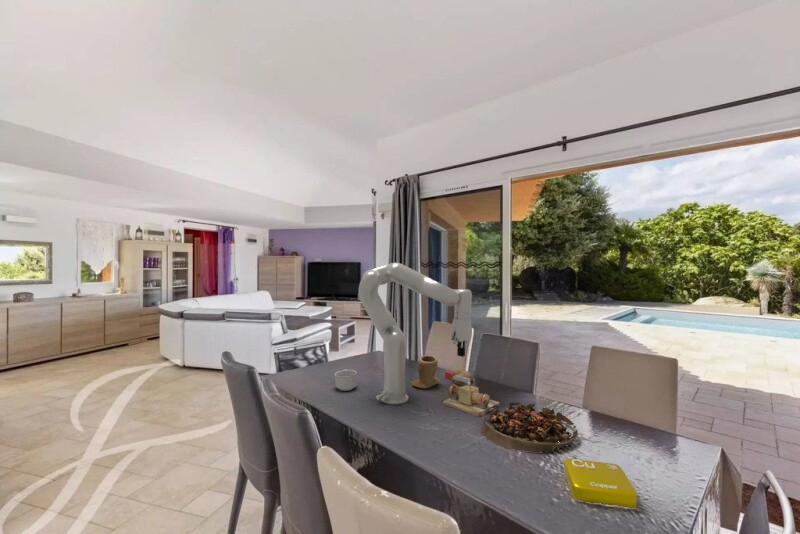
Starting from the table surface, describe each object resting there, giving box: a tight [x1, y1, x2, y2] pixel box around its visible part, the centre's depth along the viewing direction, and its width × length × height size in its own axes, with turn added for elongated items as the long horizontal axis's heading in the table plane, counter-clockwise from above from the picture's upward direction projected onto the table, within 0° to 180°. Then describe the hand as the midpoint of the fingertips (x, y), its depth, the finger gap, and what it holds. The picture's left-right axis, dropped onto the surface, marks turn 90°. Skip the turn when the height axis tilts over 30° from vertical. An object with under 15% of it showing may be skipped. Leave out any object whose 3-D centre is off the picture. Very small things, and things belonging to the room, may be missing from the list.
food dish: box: [479, 401, 579, 453], centre depth 136 cm, size 35×33×8 cm
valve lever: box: [444, 370, 471, 386], centre depth 163 cm, size 13×3×4 cm, turn 44°
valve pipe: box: [448, 383, 491, 409], centre depth 159 cm, size 6×18×7 cm, turn 45°
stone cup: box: [411, 354, 441, 389], centre depth 186 cm, size 15×12×15 cm
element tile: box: [563, 458, 638, 508], centre depth 101 cm, size 15×15×5 cm
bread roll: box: [452, 369, 474, 386], centre depth 191 cm, size 10×10×8 cm
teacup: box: [334, 368, 358, 392], centre depth 183 cm, size 14×11×8 cm
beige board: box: [442, 397, 500, 417], centre depth 161 cm, size 16×18×2 cm
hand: (461, 355), depth 171 cm, fingers closed
